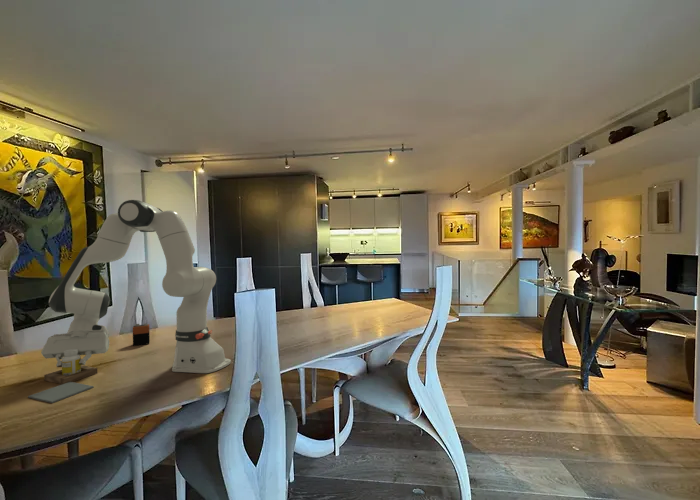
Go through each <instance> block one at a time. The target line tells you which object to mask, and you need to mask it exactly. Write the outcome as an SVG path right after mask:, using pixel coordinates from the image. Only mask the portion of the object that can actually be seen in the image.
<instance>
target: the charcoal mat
mask: <svg viewBox="0 0 700 500" xmlns="http://www.w3.org/2000/svg"><path fill="white" fill-rule="evenodd" d="M93 388H94V385H89V384H84V383H79V382H76V381H73V382H68V383H65V384H59V385H57V386H54V387H50V388H47V389H45V390H42V391H39V392H36V393H33V394H30V395H27V398H28V399H33V400H36V401H39V402H40V401H42V402H46V403H50V404H54V403H57V402H59V401H62V400H65V399H68V398H70V397H72V396H75V395H78V394H80V393H83V392H87V391H88V390H91V389H93Z"/></svg>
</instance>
